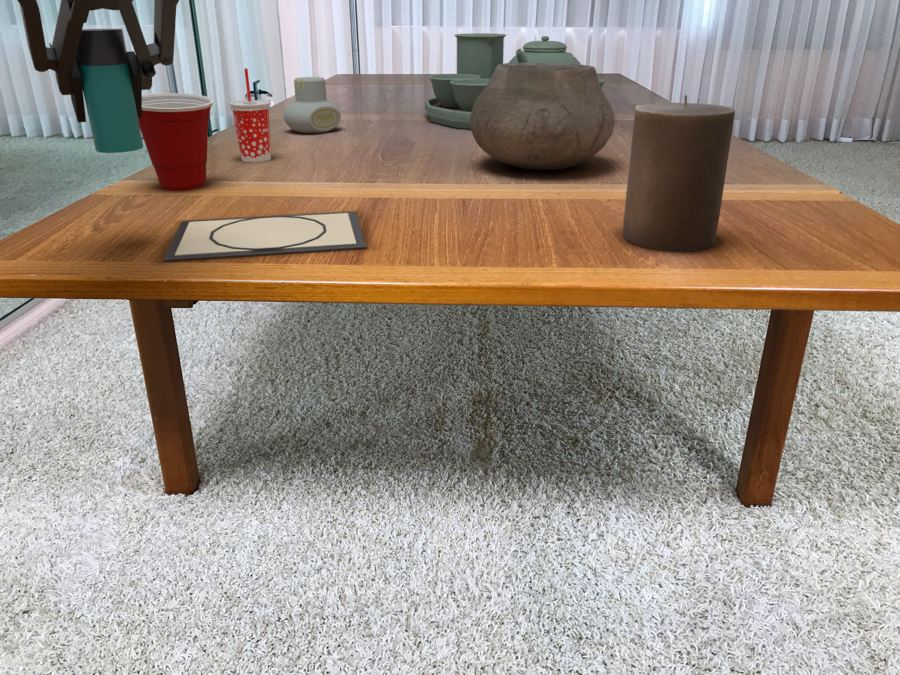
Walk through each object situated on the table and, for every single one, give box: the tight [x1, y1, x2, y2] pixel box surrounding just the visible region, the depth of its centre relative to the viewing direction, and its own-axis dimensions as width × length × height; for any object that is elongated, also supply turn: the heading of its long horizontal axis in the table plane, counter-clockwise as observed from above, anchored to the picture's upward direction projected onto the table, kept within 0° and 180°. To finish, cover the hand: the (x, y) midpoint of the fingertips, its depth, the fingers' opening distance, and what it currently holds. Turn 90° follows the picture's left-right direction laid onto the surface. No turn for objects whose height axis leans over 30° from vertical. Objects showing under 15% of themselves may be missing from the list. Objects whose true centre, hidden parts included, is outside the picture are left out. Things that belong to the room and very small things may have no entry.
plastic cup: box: [138, 92, 214, 192], centre depth 97 cm, size 11×11×12 cm
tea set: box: [424, 32, 606, 130], centre depth 152 cm, size 40×40×16 cm
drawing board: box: [162, 210, 368, 263], centre depth 78 cm, size 20×14×1 cm
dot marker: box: [75, 28, 144, 154], centre depth 70 cm, size 5×5×11 cm
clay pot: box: [469, 62, 616, 172], centre depth 107 cm, size 22×21×15 cm
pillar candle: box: [622, 94, 736, 254], centre depth 74 cm, size 10×10×15 cm
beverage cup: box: [229, 67, 272, 163], centre depth 113 cm, size 6×6×14 cm
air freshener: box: [283, 76, 342, 135], centre depth 139 cm, size 11×8×10 cm
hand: (107, 108), depth 73 cm, fingers closed on dot marker, 5 cm apart
